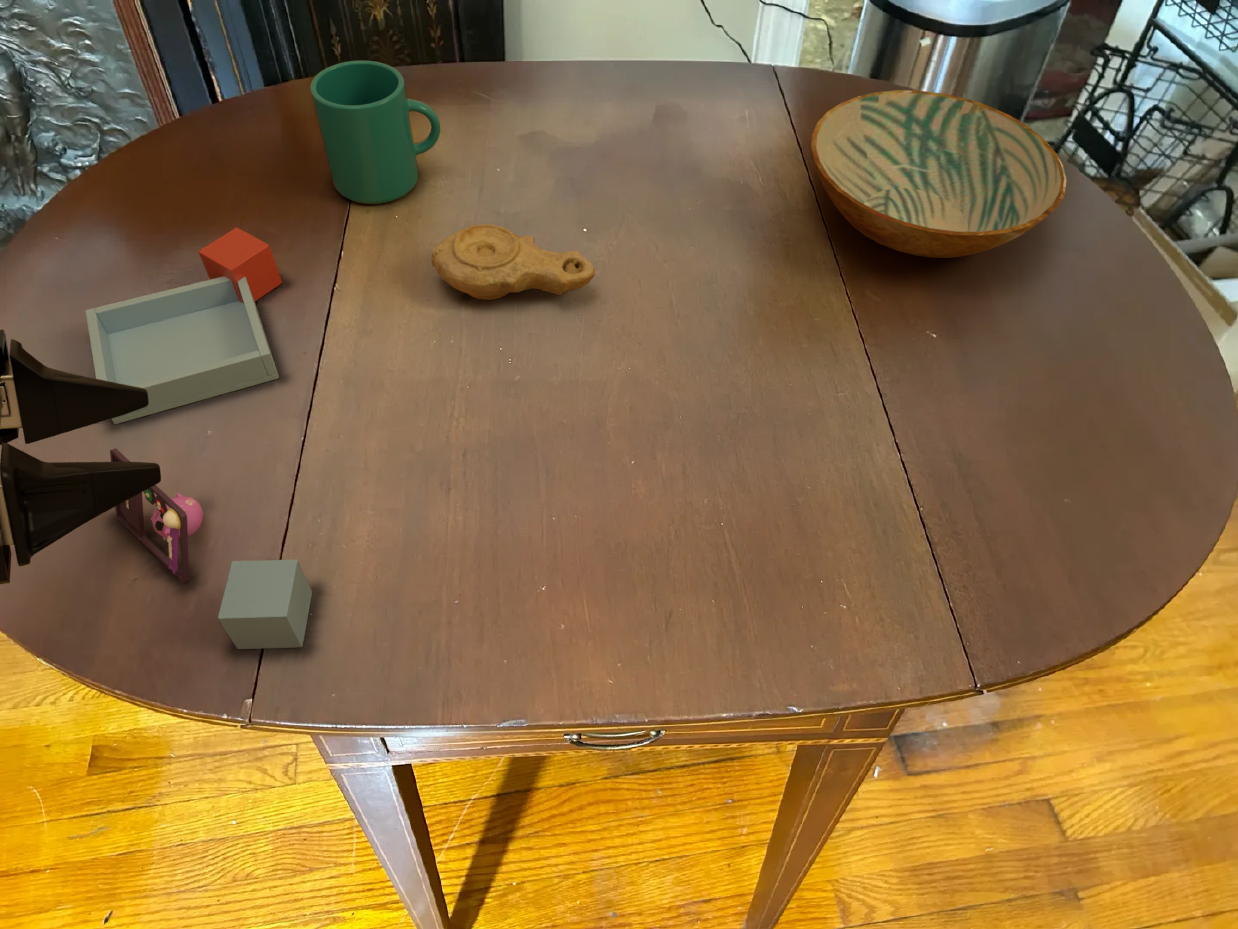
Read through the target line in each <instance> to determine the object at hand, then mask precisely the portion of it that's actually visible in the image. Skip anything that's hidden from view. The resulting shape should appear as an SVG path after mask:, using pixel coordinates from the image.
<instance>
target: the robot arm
mask: <svg viewBox="0 0 1238 929" xmlns="http://www.w3.org/2000/svg"><path fill="white" fill-rule="evenodd" d="M148 404H149V401H148V392H147V390H146V389H144V388H139V387H134V386H129V385H124V384H119V383H114V382H110V381H105V380H100V379H96V377H95V378H94V377H89V376H85V375H79V374H76V373H70V372H66V371H62V370H58V369H55V368H51V367H48V366H46V365H44V364H43V363H42V362H40V361H39V360H38V359H37V358H35V357H34V356H33V355H32V354H31V353H29V352H28V351H27V350H26V349H25V348H24V347H23V344H22V343H21V342H20V341H18V340H16V339H14V338H13V339H12V338H11V339H10V344H9V347H8V341H7V335H6V331H5V329H0V446H1V450H0V585H7V584H10V583H11V571H12V570H11V568H12V548H11V546H14V552H15V557H16V561H17V565H18V567H25V566H28V565H30V564H31V562H32V560H31V559H32V557H34V556H35V555H36V554H38V553H39V552H41V551H43V550H44V549H46V548H48V547H49V546H51V545H52V544H54V543H55V542H57V541H59V540H60V539H62V538H64V537H65V536H67V535H68V534H70V533H72V532H73V531H75V530H76V529H78V528H80V527H81V526H83V525H85V524H87V523H89V522H90V521H92V520H94V519H96V518H97V517H99V516H101V515H103V514H104V513H106V512H108V511H110V510H112V509H113V508H115V507H116V506H117V505H119V504H121V503H123V502H125V501H127V500H129V499H130V498H132V497H134V496H136V495H138V494H140V493H141V492H142V493H144V492H143V491H145V490H147V489H149V488H151V487H152V486H154V485H156V486H157V485H159V484H160V482H161V481H162V473H161V472H162V471H161V466H160V464H158V463H156V462H143V461H130V462H111V461H61V462H60V461H55V462H54V461H53V462H50V461H49V462H47V461H43V460H41V459H39V458H37V457H35V456H33V455H31V454H29V453H27V452H26V451H23V450H21V449H20V448H17V447H15V446H13V445H12V444H9V443H10V442H12V441H15V440H16V439H18V438H19V435H20V429H22V432H23V433H22V434H23V437H24V443H25V445H28V444H32V443H36V442H40V441H42V440H45V439H49V438H53V437H56V436H60V435H61V434H62V435H63V434H65V433H69V432H72V431H75V430H79V429H82V428H85V427H89V426H92V425H95V424H98V423H102V422H105V421H108V420H112V418H115V417H119V416H122V415H125V414H128V413H131V412H133V411H136V410H139V409H142V408H144V407H147V406H148Z"/></svg>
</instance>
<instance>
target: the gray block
mask: <svg viewBox="0 0 1238 929" xmlns="http://www.w3.org/2000/svg"><path fill="white" fill-rule="evenodd" d="M312 596H313V590H312V589H311V586H310V583H309V581H308V579H307V577H306V574H305V573H304V571H303V569H302V566H301V564H300V562H299V559H297V558H296V559H264V560H263V559H261V560H259V559H257V560H232V561H231V564H230V568H229V571H228V574H227V579H226V583H225V588H224V592H223V596H222V598H221V599H222V600H221V602H220V608H219V612H218V615H217V619H218V621H219V623H220V624H221V626H222V628H223V629H224V630H225V632H226V634H227V635H228V637H229V639H230V640H231V641H232V643H233V644H234V646H235V647H236V649H237V650H254V649H255V650H257V649H259V650H260V649H291V648H303V646H304V640H305V635H306V629H307V624H308V619H309V614H310V607H311V602H312Z"/></svg>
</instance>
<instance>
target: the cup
mask: <svg viewBox="0 0 1238 929" xmlns="http://www.w3.org/2000/svg"><path fill="white" fill-rule="evenodd" d="M309 89H310V94H311V95H310V96H311V98H312V103H313V107H314V111H315V115H316V120H317V124H318V127H319V132H320V135H321V139H322V140H321V141H322V143H323V147H324V152H325V156H326V160H327V164H328V168H329V172H330V176H331V181H332V184H333V186H334V188H335V190H336V191H337V192H338V193H339V194H340V195H341V196H342V197H344V198H346V199H348V200H350V201H352V202H355V203H359V204H364V205H365V204H366V205H379V204H386V203H390V202H393V201H396V200H398V199H401V198H403V197H405V196H406V195H408V194H409V193H410V192H411V191H412V190H413V189H414V187H415V186H416V184H417V182H418V179H419V168H418V160H417V156H419V155H422V154H424V153H426V152H428V151H429V150H431V149H432V148H433V147H434V146H435V145H436V144H437V142H438V141H439V139H440V134H441V122H440V118H439V117H438V114H437V113H436V111H435V109H433V108H432V107H431V106H430V105H429V104H427V103H425V102H423V101H420V100H417V99H412V98H408V97H407V91H406V85H405V80H404V76H403V75H402V74H401V73H400V71H399V70H398V69H396V68H394V67H393V66H391V65H389V64H387V63H383V62H379V61H373V60H351V61H350V60H349V61H344V62H340V63H336V64H334V65H331V66H329V67H326V68H324V69H323V70H321V71H320V72H318V73H317V74H316V75H315V76H314V77H313V78H312V80H311V83H310V88H309ZM410 112H416V113H419V114H422V115H424V116H425V117H426V118H427V119H428V121H429V123H430V132H429V134H428V136H426V137H425V138H424V139H423V140H421V141H419V142H415V141H414V136H413V130H412V124H411V116H410Z"/></svg>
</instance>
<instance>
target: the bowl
mask: <svg viewBox="0 0 1238 929" xmlns="http://www.w3.org/2000/svg"><path fill="white" fill-rule="evenodd" d="M815 124H816V125H815V127H814V129H813V131H812V133H811V143H810V149H811V152H812V157H813V160H814V163H815V167H816V171H817V174H818V177H819V180H820V182H821V185H822V187H823V189H824V190H825V193H826V194H827V195H828V197H829V199H830V200H831V202H832V204H833V205H834V207H835V208H836V210H837V211H838V212H839V213H840V214H841V215H842V216H843V217H844V219H845V220H846V221H847V222H848V224H850V225H851V226H852V227H853V228H854V229H856V230H857V231H858V232H860V233H861V234H862V235H864V236H865V237H866V238H868V239H870V240H872V241H874V242H875V243H877V244H879V245H881V246H884V247H887V248H889V249H892V250H894V251H896V252H901V253H905V254H908V255H912V256H918V257H924V258H934V259H936V258H937V259H947V258H948V259H952V258H960V257H967V256H971V255H974V254H978V253H982V252H985V251H989V250H992V249H995V248H998V247H1000V246H1002V245H1005V244H1007V243H1008V242H1009V243H1010V242H1011V241H1012V240H1015V239H1017V238H1018V237H1020V236H1022V235H1024V234H1026V233H1027V232H1029V231H1030V230H1031V229H1034V227H1035V226H1037V225H1038V224H1040V223H1041V222H1042V221H1043V220H1045V219H1046V218H1047V217H1048V216H1049V215H1050V214H1052V213H1053V212H1054V211H1055V210H1056V209H1057V208H1058V207H1059V205H1060V203H1062V200H1063V198H1064V196H1065V195H1066V187H1067V182H1068V181H1067V176H1066V172H1065V167H1064V164H1063V162H1062V161H1061V159H1060V157H1059V156H1058V154H1057V152H1056V151H1055V150H1054V148H1053V147H1052V146H1051V145H1050V144H1049V143H1048V142H1047V141H1046V139H1045V138H1044V137H1042V136H1041V135H1040V134H1039V133H1037V132H1036V131H1035V130H1033V128H1031V127H1030V126H1029V125H1027V124H1025V123H1023V122H1022V121H1020V120H1019V119H1017V118H1015V117H1013V116H1012V115H1010V114H1008V113H1005V112H1003V111H1001V110H999V109H997V108H994V107H992V106H990V105H988V104H984V103H982V102H978V101H975V100H972V99H970V98H965V97H962V96H957V95H952V94H948V93H944V92H943V93H942V92H935V91H926V90H913V89H911V90H910V89H909V90H908V89H907V90H906V89H902V90H901V89H895V90H884V91H876V92H875V91H874V92H871V93H866V94H863V95H857V96H855V97H853V98H850V99H847V100H844V101H842V102H840V103H838V104H836V105H834V107H832V108H830V109H828V111H826V112H825V113H824V114H823V115H822V116H821V118H820V119H819V120H818V121H817V122H816V123H815Z"/></svg>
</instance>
